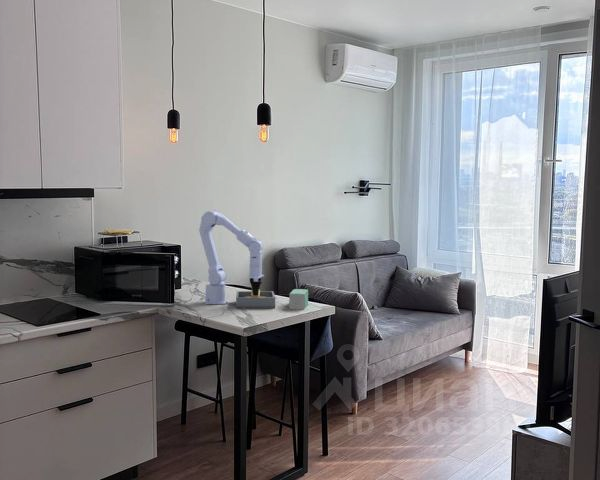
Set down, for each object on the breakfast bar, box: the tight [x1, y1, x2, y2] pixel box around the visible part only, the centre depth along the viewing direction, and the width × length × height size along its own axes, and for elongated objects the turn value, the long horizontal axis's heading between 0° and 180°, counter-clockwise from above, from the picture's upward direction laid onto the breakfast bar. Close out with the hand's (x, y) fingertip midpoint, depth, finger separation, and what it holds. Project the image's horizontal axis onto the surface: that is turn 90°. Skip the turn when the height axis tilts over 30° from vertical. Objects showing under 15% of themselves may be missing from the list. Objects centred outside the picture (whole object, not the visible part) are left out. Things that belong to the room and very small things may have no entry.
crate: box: [235, 290, 276, 309], centre depth 288 cm, size 18×16×5 cm
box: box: [288, 288, 309, 311], centre depth 286 cm, size 7×14×8 cm, turn 172°
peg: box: [250, 289, 261, 297], centre depth 287 cm, size 4×4×6 cm
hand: (255, 294), depth 287 cm, fingers open, 5 cm apart
